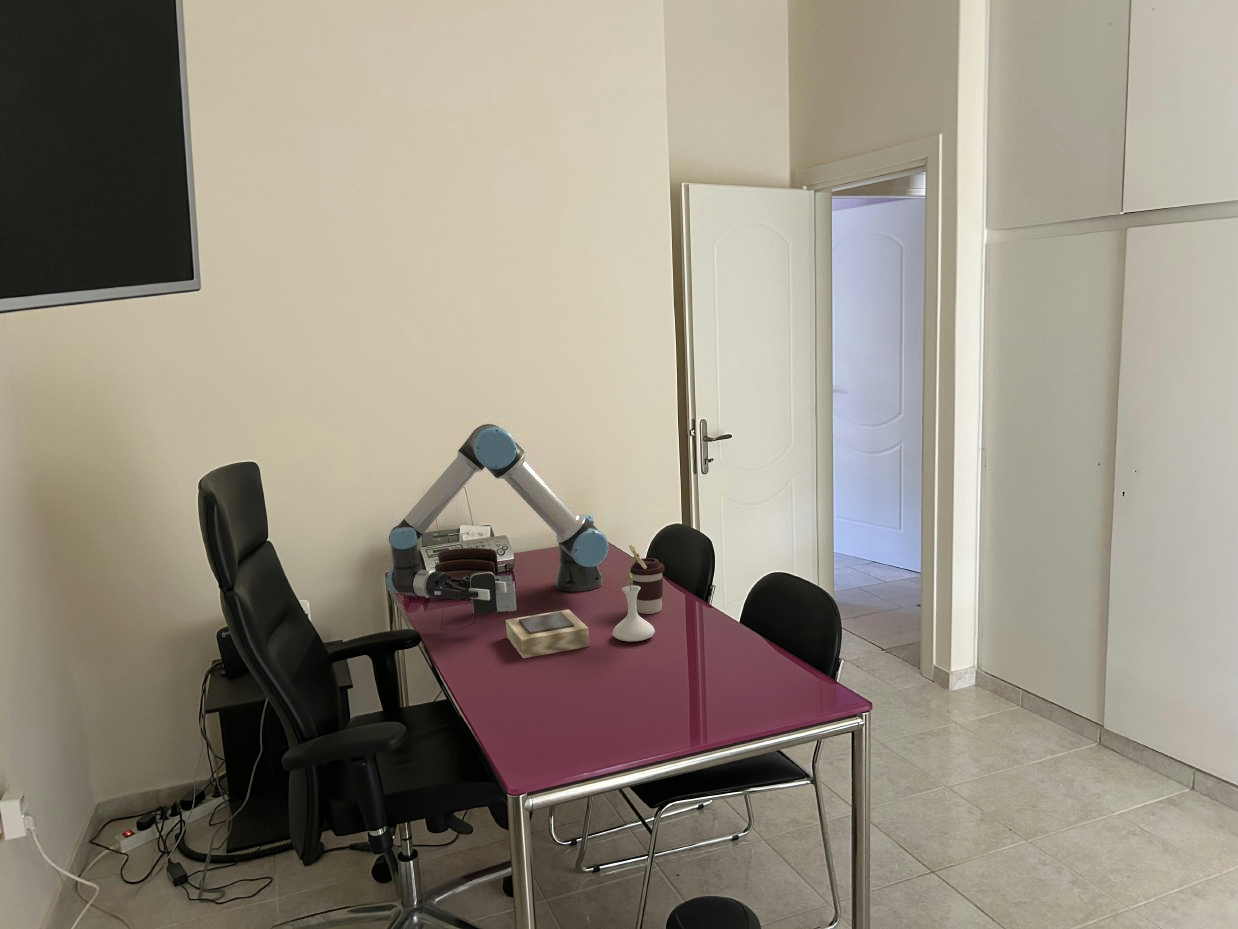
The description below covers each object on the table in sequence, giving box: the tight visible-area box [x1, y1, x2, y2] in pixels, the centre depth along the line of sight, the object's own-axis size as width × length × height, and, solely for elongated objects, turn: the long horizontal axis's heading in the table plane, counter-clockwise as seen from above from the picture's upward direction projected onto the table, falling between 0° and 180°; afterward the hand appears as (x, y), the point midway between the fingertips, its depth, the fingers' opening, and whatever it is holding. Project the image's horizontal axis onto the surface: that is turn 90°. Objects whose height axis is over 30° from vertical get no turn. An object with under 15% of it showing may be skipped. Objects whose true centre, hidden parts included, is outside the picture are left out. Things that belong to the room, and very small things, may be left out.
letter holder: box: [434, 547, 500, 597], centre depth 294 cm, size 10×20×14 cm, turn 84°
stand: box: [505, 609, 591, 659], centre depth 244 cm, size 18×18×6 cm
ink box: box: [494, 573, 518, 613], centre depth 273 cm, size 12×2×12 cm, turn 84°
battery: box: [470, 571, 498, 615], centre depth 253 cm, size 7×4×11 cm, turn 104°
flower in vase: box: [612, 543, 656, 642], centre depth 242 cm, size 13×11×25 cm
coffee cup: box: [630, 557, 665, 615], centre depth 265 cm, size 10×10×15 cm
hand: (497, 591), depth 250 cm, fingers closed on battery, 7 cm apart
